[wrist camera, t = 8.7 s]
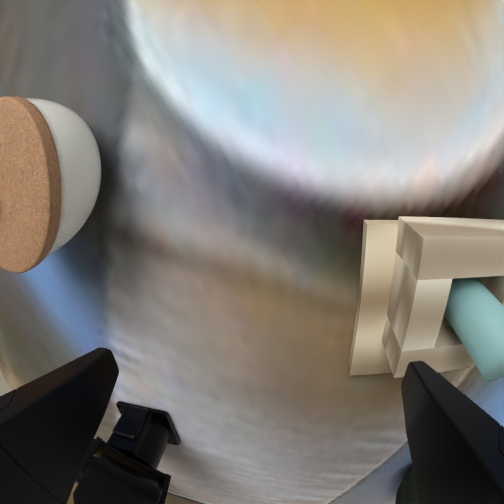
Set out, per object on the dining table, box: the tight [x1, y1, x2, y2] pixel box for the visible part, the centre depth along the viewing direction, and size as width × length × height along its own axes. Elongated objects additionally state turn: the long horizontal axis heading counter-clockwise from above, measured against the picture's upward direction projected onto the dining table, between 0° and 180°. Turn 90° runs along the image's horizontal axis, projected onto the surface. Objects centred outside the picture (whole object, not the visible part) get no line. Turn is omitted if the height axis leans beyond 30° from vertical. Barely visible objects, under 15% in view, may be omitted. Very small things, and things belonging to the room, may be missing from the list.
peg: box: [444, 277, 504, 381], centre depth 13 cm, size 3×3×8 cm
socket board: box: [348, 217, 504, 378], centre depth 17 cm, size 12×11×5 cm
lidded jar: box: [0, 96, 101, 273], centre depth 15 cm, size 11×11×9 cm
